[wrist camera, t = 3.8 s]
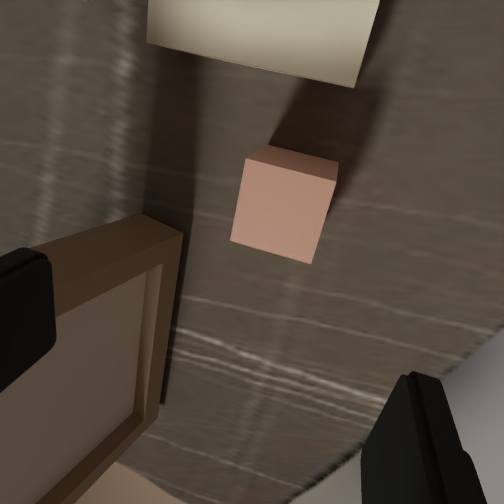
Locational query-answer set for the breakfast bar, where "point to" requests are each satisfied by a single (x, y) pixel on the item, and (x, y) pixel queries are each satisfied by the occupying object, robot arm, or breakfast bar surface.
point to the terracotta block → (284, 202)
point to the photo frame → (92, 361)
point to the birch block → (270, 33)
